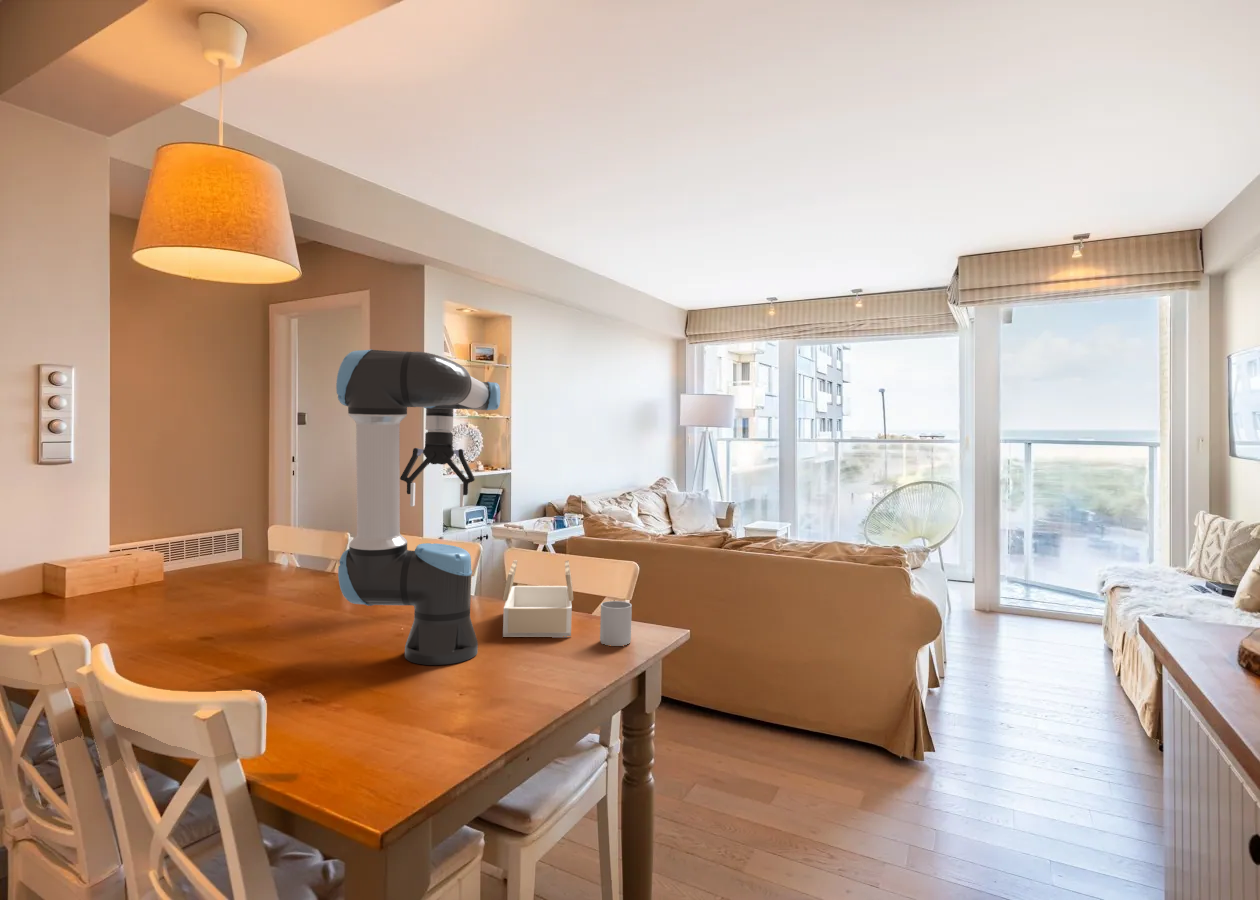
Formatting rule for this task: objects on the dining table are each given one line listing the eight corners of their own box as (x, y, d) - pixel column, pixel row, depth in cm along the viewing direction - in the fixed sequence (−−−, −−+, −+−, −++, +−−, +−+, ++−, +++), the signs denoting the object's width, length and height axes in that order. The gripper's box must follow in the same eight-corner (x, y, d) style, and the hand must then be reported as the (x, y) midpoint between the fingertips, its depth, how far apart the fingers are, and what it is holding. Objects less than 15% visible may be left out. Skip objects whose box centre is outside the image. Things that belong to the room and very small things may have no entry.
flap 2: (569, 600, 160) (573, 600, 160) (565, 574, 160) (569, 574, 160) (568, 584, 179) (572, 583, 179) (564, 560, 178) (568, 560, 179)
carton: (571, 638, 157) (571, 608, 157) (502, 638, 155) (503, 608, 155) (569, 611, 182) (570, 585, 182) (510, 611, 180) (511, 585, 180)
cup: (594, 644, 153) (595, 605, 152) (613, 633, 162) (614, 597, 162) (622, 649, 149) (623, 609, 149) (640, 637, 159) (641, 600, 158)
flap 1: (512, 574, 158) (508, 573, 158) (507, 600, 158) (502, 600, 158) (517, 560, 177) (513, 559, 177) (512, 584, 177) (509, 583, 177)
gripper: (485, 433, 193) (483, 505, 193) (396, 430, 190) (394, 504, 190) (482, 432, 185) (480, 508, 185) (390, 429, 182) (388, 506, 182)
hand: (437, 506), depth 187 cm, fingers open, 13 cm apart
